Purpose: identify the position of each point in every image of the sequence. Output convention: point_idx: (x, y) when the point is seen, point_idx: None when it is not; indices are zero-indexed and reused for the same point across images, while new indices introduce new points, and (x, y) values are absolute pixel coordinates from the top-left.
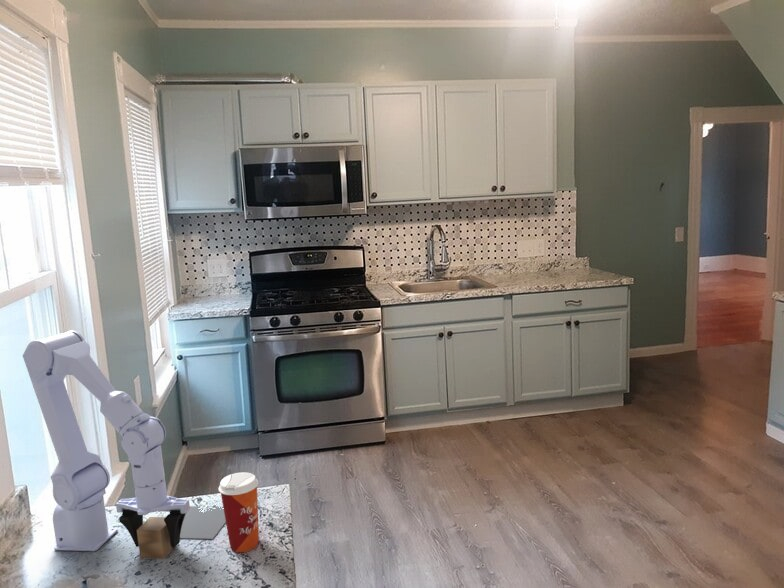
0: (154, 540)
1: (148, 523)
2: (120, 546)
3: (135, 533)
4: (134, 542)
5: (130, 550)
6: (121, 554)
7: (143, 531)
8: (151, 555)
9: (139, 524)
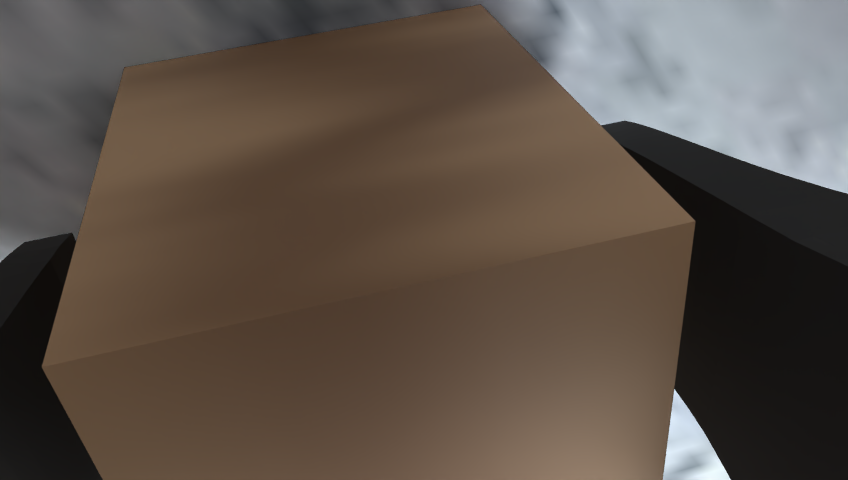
0: (244, 181)
1: (564, 460)
2: (837, 148)
3: (713, 223)
4: (664, 133)
5: (693, 114)
6: (766, 18)
7: (512, 240)
8: (318, 50)
9: (743, 399)
